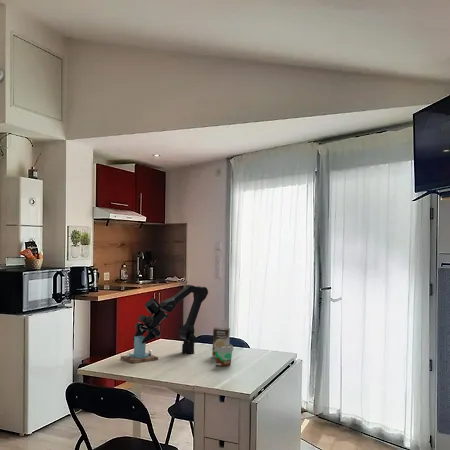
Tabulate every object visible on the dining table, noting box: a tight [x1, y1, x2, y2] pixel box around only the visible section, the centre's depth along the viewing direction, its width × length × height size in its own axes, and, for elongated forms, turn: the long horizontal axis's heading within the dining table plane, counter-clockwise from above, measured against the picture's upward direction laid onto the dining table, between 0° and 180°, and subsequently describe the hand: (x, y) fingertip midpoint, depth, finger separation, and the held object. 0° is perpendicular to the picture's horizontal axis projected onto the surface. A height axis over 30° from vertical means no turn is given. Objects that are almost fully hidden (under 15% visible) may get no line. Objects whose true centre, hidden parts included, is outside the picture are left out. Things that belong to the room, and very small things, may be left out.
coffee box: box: [211, 327, 231, 359], centre depth 274 cm, size 9×6×16 cm
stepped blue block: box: [130, 335, 149, 359], centre depth 262 cm, size 7×7×10 cm
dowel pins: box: [126, 350, 152, 358], centre depth 262 cm, size 15×2×2 cm, turn 130°
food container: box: [215, 343, 235, 368], centre depth 255 cm, size 12×6×10 cm, turn 143°
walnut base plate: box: [120, 352, 159, 364], centre depth 262 cm, size 16×12×2 cm
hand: (137, 341), depth 261 cm, fingers open, 9 cm apart
